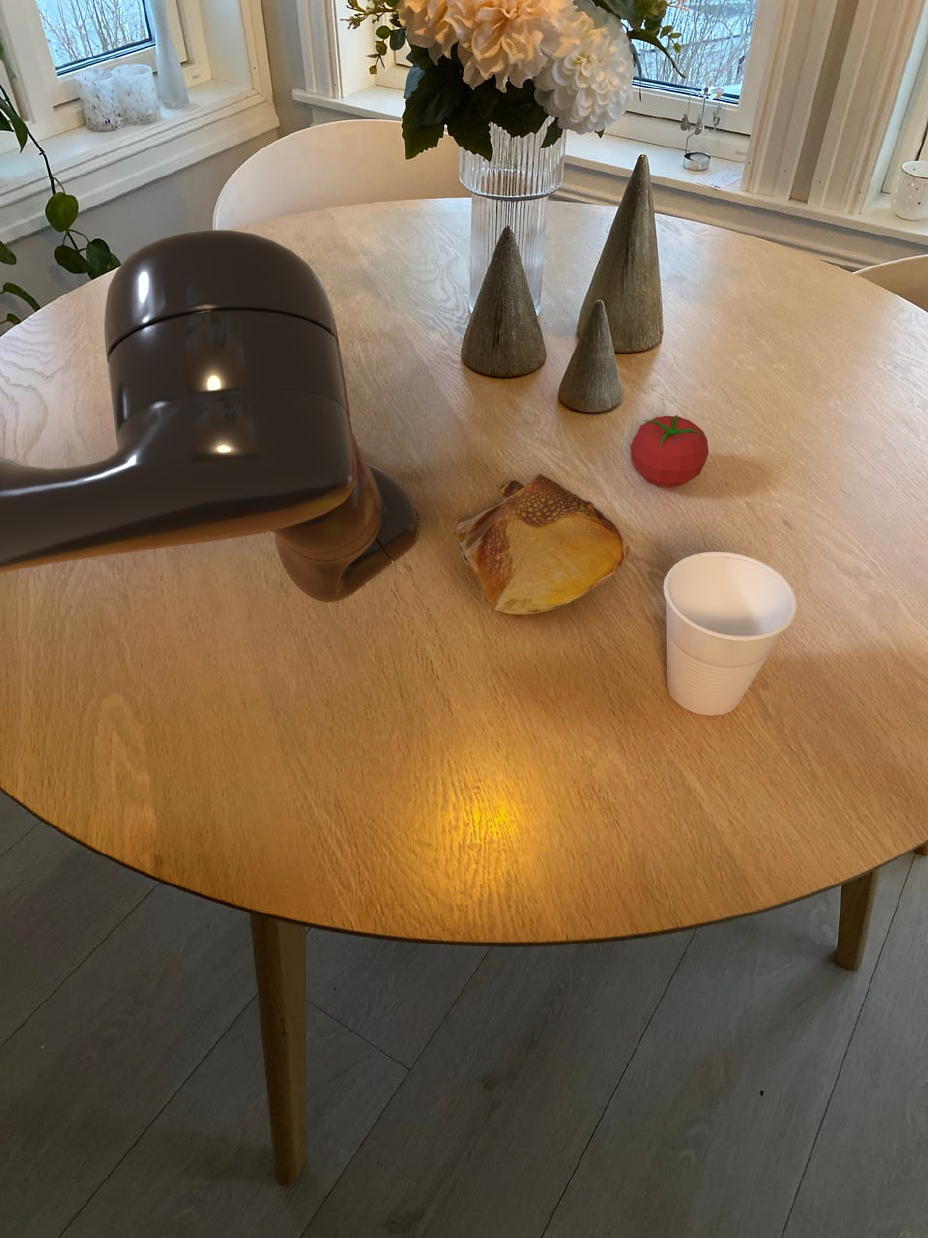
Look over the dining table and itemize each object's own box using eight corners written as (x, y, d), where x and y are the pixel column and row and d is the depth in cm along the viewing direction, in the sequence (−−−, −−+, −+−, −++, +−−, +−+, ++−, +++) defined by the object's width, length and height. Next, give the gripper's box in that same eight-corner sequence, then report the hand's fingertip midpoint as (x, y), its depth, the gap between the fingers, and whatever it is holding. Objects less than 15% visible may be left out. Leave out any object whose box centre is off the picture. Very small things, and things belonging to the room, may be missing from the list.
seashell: (666, 535, 88) (551, 584, 79) (638, 596, 93) (527, 647, 84) (546, 437, 95) (429, 471, 87) (526, 497, 100) (414, 535, 92)
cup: (779, 676, 81) (814, 578, 73) (741, 755, 75) (774, 657, 67) (669, 633, 85) (691, 535, 77) (624, 706, 78) (643, 607, 71)
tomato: (613, 483, 101) (622, 420, 95) (645, 448, 105) (656, 387, 100) (683, 509, 98) (697, 445, 92) (713, 473, 102) (728, 410, 97)
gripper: (340, 366, 80) (268, 290, 90) (174, 410, 75) (117, 324, 85) (347, 442, 85) (278, 362, 96) (192, 488, 80) (136, 398, 90)
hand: (202, 344), depth 90 cm, fingers open, 8 cm apart
